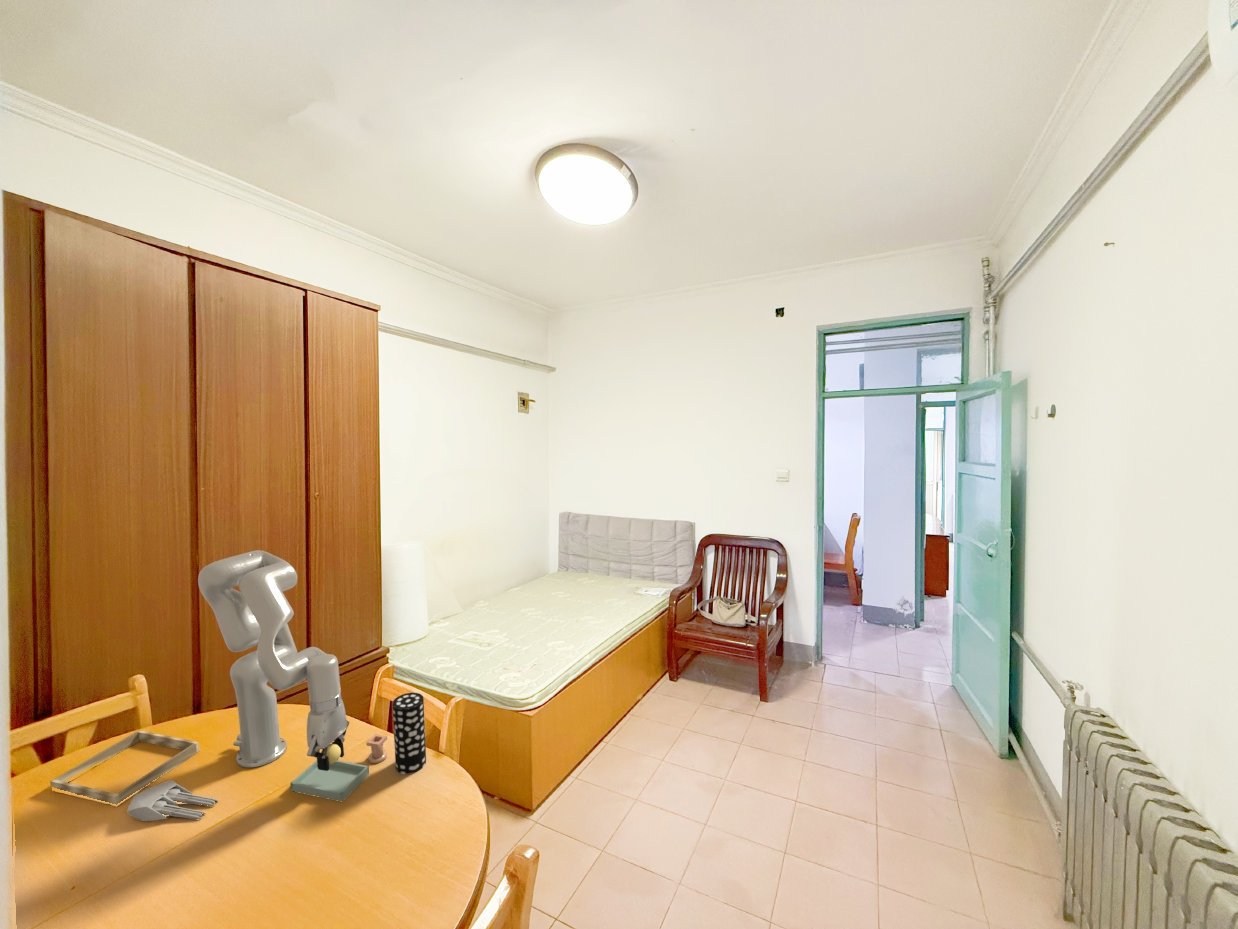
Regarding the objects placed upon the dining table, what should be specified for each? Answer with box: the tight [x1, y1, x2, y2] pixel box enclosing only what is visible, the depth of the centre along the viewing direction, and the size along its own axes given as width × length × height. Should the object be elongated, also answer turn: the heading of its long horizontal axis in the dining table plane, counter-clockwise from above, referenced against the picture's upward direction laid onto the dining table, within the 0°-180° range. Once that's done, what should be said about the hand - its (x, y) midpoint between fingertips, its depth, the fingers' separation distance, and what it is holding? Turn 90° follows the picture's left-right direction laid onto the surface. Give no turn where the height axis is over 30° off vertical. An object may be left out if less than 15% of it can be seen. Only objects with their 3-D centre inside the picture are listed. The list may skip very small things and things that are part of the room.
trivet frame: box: [49, 730, 200, 805], centre depth 159 cm, size 23×23×3 cm
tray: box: [290, 759, 370, 802], centre depth 156 cm, size 16×11×2 cm
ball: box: [320, 743, 341, 764], centre depth 154 cm, size 5×5×5 cm
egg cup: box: [365, 733, 388, 764], centre depth 165 cm, size 5×5×6 cm
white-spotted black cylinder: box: [392, 692, 427, 775], centre depth 162 cm, size 8×8×20 cm
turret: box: [126, 779, 219, 822], centre depth 145 cm, size 10×20×5 cm, turn 88°
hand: (331, 762), depth 154 cm, fingers closed on ball, 4 cm apart
